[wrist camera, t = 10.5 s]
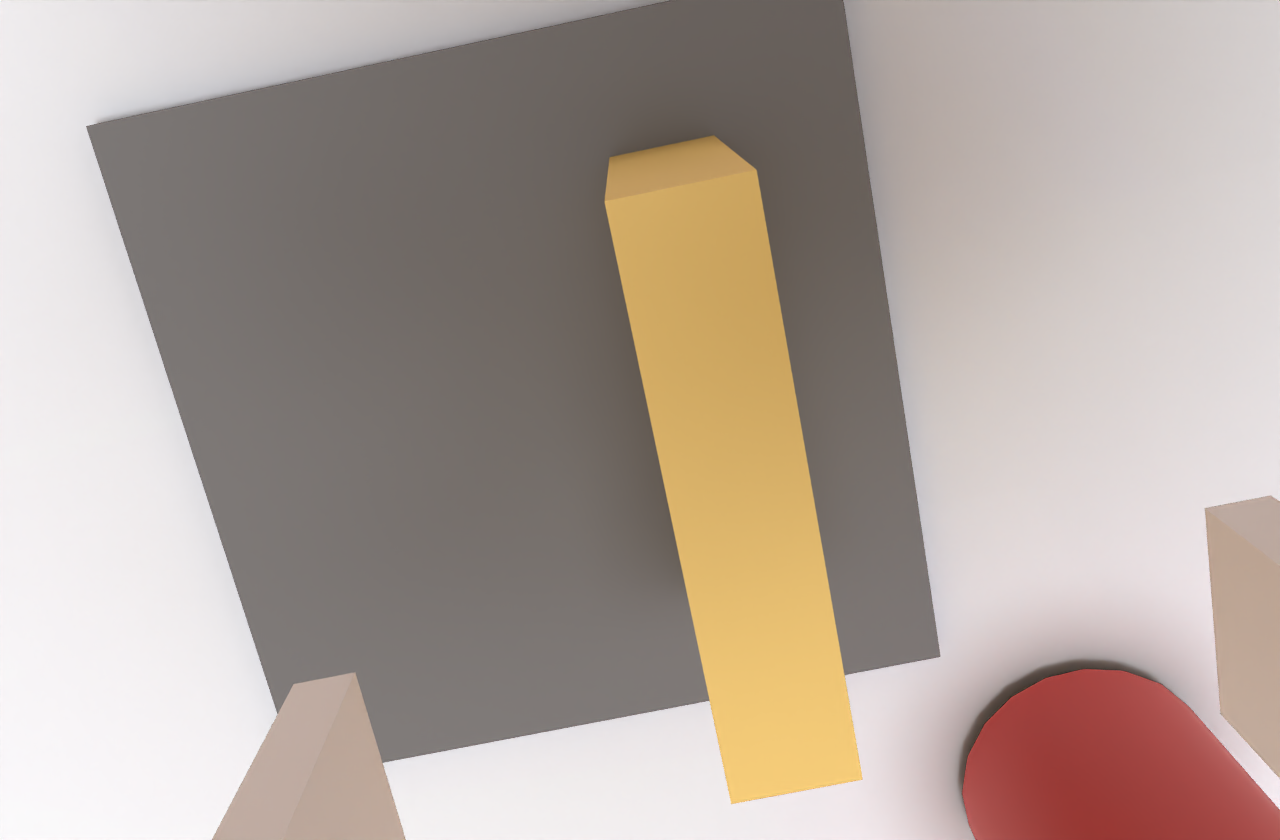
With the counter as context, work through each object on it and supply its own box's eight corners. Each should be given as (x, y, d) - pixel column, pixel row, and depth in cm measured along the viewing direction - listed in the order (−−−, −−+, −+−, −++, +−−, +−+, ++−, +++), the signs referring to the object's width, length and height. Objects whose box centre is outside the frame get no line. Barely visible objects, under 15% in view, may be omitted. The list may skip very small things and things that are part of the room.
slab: (609, 156, 28) (603, 201, 19) (713, 135, 27) (756, 169, 19) (700, 594, 31) (731, 803, 22) (794, 576, 31) (862, 779, 22)
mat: (97, 125, 28) (86, 126, 27) (833, -34, 27) (838, -35, 26) (304, 766, 33) (298, 778, 32) (934, 646, 32) (940, 657, 31)
